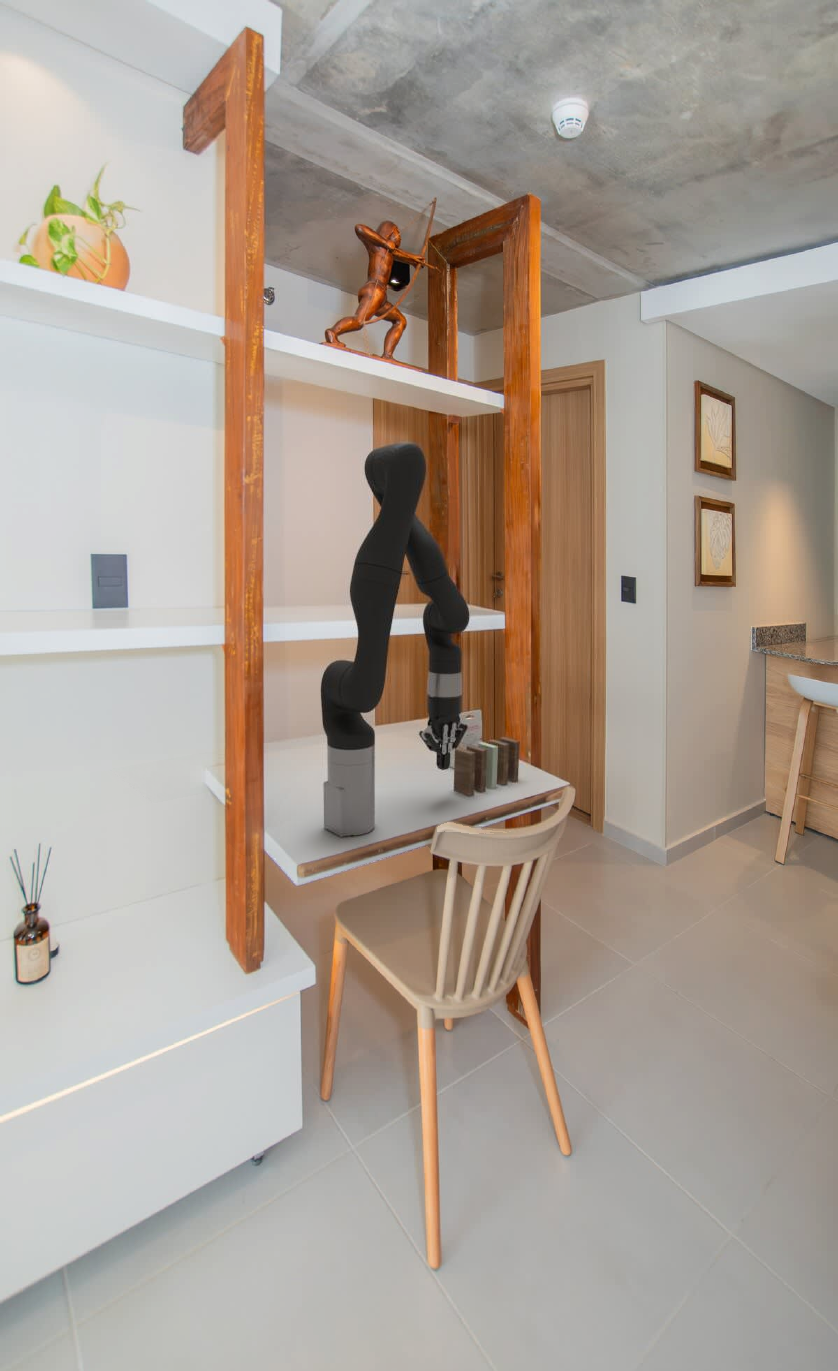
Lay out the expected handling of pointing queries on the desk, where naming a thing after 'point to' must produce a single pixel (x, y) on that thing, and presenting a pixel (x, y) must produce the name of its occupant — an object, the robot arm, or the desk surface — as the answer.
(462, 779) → the domino
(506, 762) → the domino
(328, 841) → the desk surface
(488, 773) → the gap domino
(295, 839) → the desk surface
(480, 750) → the domino
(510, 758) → the domino
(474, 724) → the ink cartridge box
